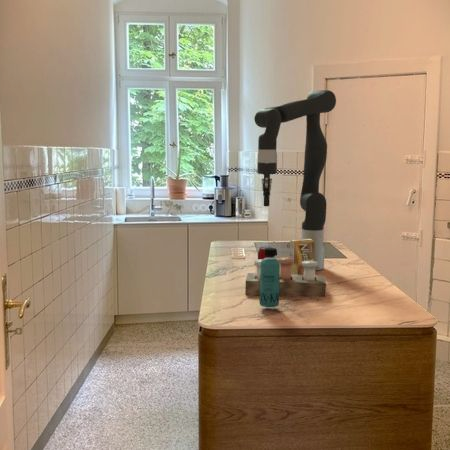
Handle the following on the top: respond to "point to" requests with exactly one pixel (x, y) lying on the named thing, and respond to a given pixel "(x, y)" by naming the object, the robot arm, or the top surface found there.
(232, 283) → the top surface
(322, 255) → the robot arm
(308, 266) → the grey plug
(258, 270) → the grey plug
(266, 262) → the beverage bottle
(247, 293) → the walnut socket board
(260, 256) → the beverage can
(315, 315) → the top surface
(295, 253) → the candy box
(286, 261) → the brown mushroom peg
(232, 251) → the top surface
